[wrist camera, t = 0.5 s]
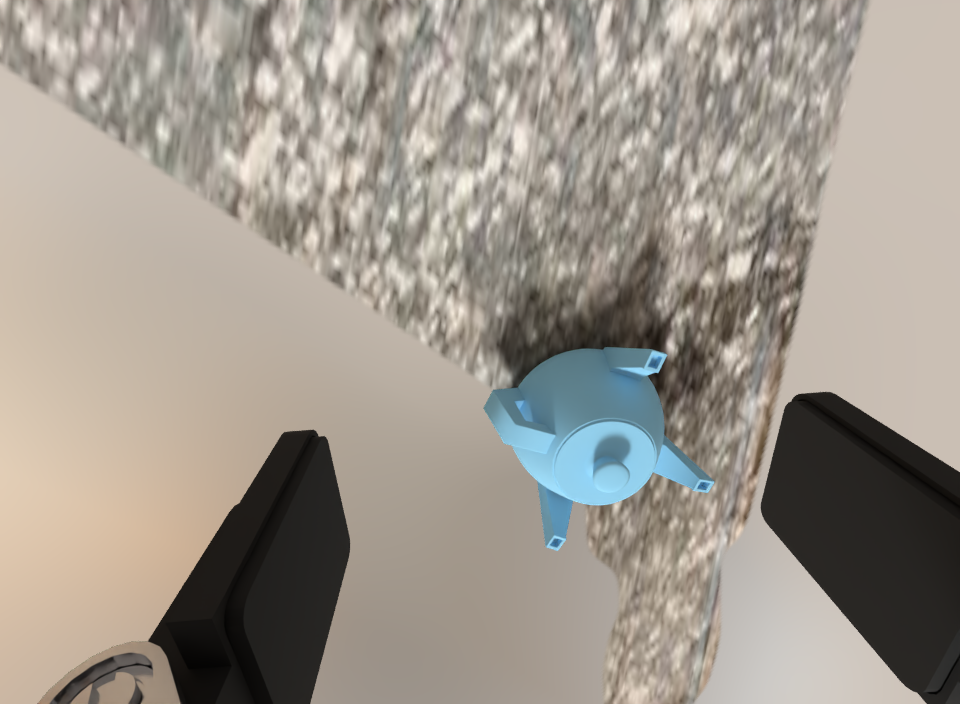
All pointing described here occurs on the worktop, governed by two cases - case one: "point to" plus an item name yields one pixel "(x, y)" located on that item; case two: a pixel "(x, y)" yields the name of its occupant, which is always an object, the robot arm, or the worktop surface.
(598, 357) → the teapot
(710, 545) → the worktop surface
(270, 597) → the robot arm
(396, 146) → the worktop surface
